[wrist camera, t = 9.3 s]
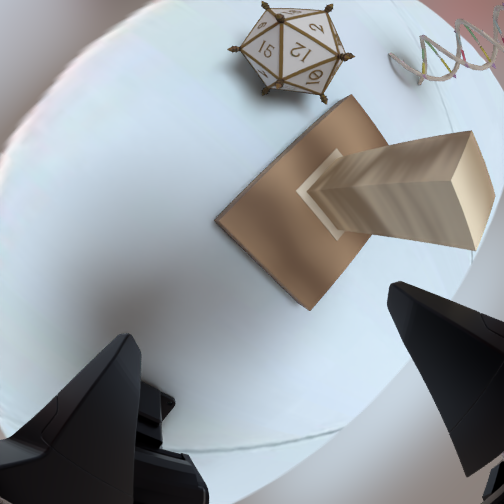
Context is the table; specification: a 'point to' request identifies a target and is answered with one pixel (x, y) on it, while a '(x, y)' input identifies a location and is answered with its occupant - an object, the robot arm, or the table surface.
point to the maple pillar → (411, 191)
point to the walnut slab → (302, 207)
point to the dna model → (459, 50)
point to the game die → (294, 50)
